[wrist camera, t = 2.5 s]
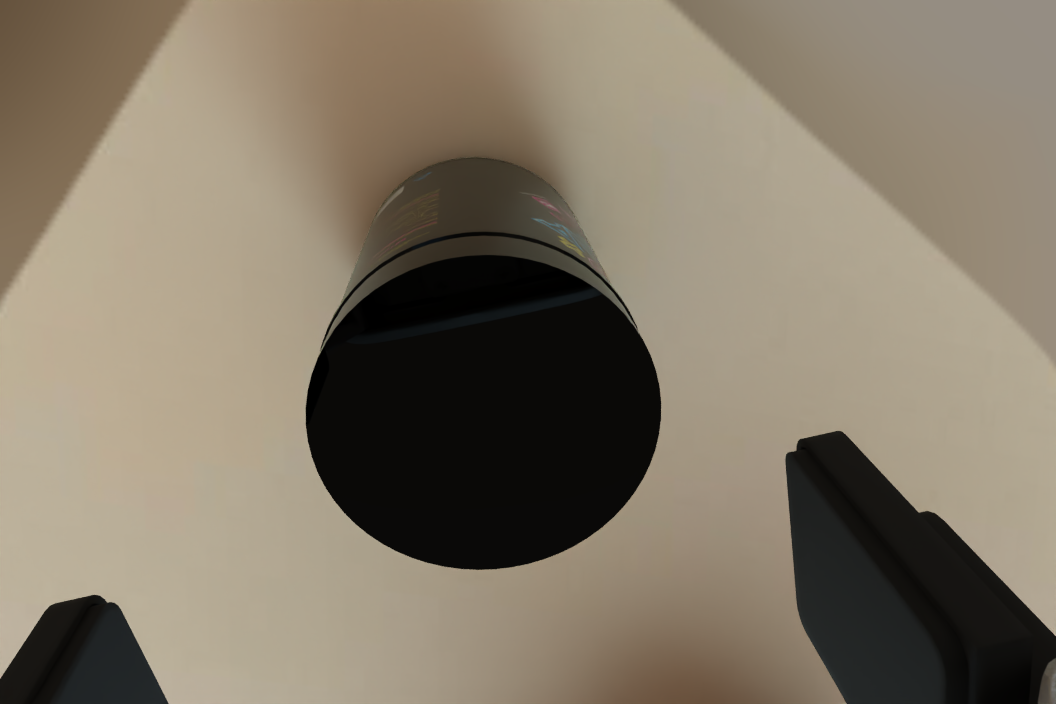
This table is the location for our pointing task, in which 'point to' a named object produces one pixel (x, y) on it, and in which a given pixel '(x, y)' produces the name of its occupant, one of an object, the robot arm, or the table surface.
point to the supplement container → (481, 376)
